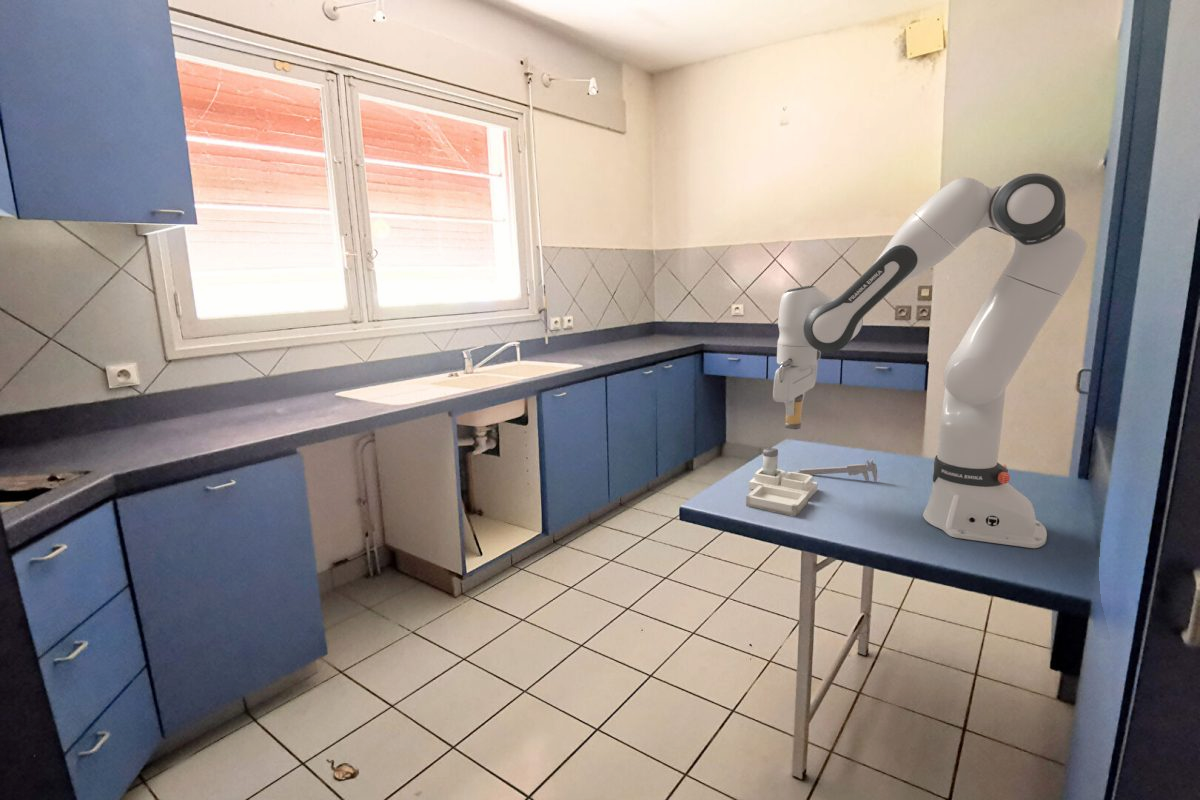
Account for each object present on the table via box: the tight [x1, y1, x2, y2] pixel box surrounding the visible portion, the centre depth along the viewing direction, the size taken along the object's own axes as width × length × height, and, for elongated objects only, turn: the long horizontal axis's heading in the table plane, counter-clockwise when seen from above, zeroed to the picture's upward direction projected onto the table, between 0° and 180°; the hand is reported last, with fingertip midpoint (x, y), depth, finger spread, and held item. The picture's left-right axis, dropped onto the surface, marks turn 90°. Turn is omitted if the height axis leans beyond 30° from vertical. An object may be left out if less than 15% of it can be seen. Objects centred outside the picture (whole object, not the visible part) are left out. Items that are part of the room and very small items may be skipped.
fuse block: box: [748, 447, 819, 501], centre depth 152 cm, size 15×8×10 cm, turn 55°
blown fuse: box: [784, 395, 804, 430], centre depth 144 cm, size 4×4×8 cm
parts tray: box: [745, 484, 809, 517], centre depth 144 cm, size 12×9×2 cm
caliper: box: [795, 459, 878, 483], centre depth 159 cm, size 20×1×6 cm, turn 65°
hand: (793, 412), depth 144 cm, fingers closed on blown fuse, 4 cm apart
